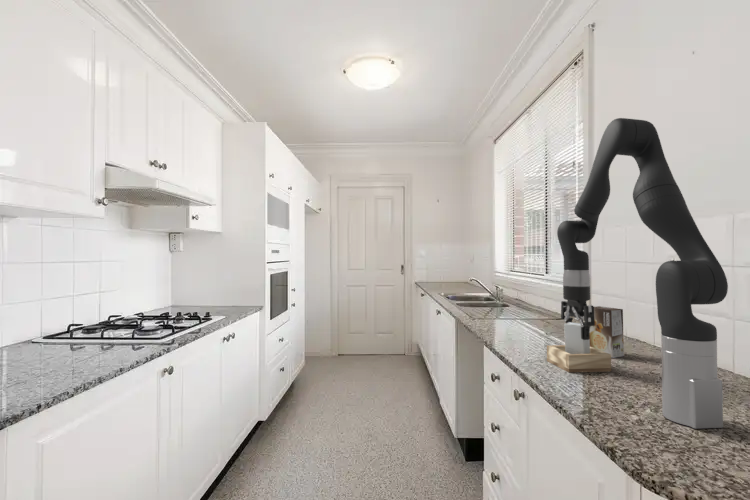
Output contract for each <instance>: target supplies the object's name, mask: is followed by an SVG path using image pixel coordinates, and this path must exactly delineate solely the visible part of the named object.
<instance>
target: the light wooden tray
mask: <svg viewBox="0 0 750 500" xmlns="http://www.w3.org/2000/svg"><path fill="white" fill-rule="evenodd" d="M546 362H548V363H550V364H552V365H554V366H556V367H558V368H559V369H561V370H563V371H565V372H567V373H594V372H595V373H598V372H604V373H605V372H612V358H611V354H609V353H606V352H603V351H601V350H598V349H595V348H593V347H590V354H570V353H567V352H565V344H562V345H559V344H555V345H553V344H552V345H551V344H550V345H546Z"/></svg>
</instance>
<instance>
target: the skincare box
mask: <svg viewBox="0 0 750 500" xmlns="http://www.w3.org/2000/svg"><path fill="white" fill-rule="evenodd" d="M563 326H564V327H563V330H564V331H563V332H564V345H565V352H567V353H570V354H590V340H583V339H581V324H580V322H574V321H573V322H569V323H566V322H564V324H563Z"/></svg>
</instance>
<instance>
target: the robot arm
mask: <svg viewBox="0 0 750 500" xmlns="http://www.w3.org/2000/svg"><path fill="white" fill-rule="evenodd" d="M654 125H655V124H653V123H652V122H650V121H648V120H644V119H635V118H626V117H625V118H624V117H619V118H615V119H613V120H612V121H610V123H608V124H607V126H606V128H605V129H604V131H603V134H602V137H601V139H600V142H599V144H598V148H597V151H596V154H595V157H594V160H593V163H592V167H591V170H590V173H589V177H588V178H587V182H586V184H585V187H584V189H583V191H582V193H581V194H580V195H579V196H580V197H579V199H578V200H577V202H576V204H575V206H574V208H573V209H574V211H573V212H574V215H576V217H577V218H579V219H581V220H564V221H562V222H560V223H559V225H558V227H557V231H556V234H557V235H556V236H557V241H558V243H559V247H560V249H561V252H562V257H563V274H562V275H563V276H562V293H563V295H562V296H563V297H562V298H563V299H564V300H562V301H561V302H560V303H561V305H560V309H561V310H560V318H561V320H563V322H564V323H569V322H573V323H574V321H575V319H576V320H577V321H578V323H580V324H581V339H583V340H589V338H590V335H589V334H590V327H591V326H594V325H595V320H594V307H595V306H594V305H587V302H588V301H590V300H591V278H590V277H591V275H590V257H589V253H588V252H586V251H584V250H580V249H578V247H577V244H587V243H588V242H591V241H592V240H593V238H594V237H595V235H596V232H597V227H598V224H599V223H598V222H599V219H600V215H601V213H602V211H603V209H604V208H605V205H606V204H607V202H608V200H609V198H610V195H611V183H610V182H611V181H610V168H611V165H612V162H613V161H614V160H615V158H616V156H629V157H632V158H633V159H634V160H635V162H636V164H637V167H638V170H639V176H638V177H637V180H636V182H635V184H634V188H633V191H632V199H633V203H634V206H635V207H636V208H635V209H636V211H637V213H638V215H639V218H640V220H641V221H642V223H643V225H645V226H646V227H647V228H648V229H649V230H651V231H652V232H653V233H654V234H655V235H656V236H658V237H659V238H660V239H661V240H663V241H664V242H665V243H667V244H668V245H669V247H671V249H672V250H674V252H675V253H676V255H677V256H678V258H679V260H668V261H665V262H663V263H662V264H660V266H659V268H658V270H657V272H656V274H655V295H656V307H657V318H658V322H659V325H660V330H661V331H660V333H661V334H660V335H661V336H660V338H661V395H662V396H661V398H662V403H661V404H662V407H661V408H662V410H661V411H662V413H661V414H662V415H663V417H664V418H665V419H668V420H669V421H672V422H674V423H677V424H680V425H684V426H687V427H691V428H693V429H717V428H718V429H719V428H724V417H723V416H724V413H723V412H724V408H723V405H724V404H723V402H724V401H723V380H722V379H721V378H718V331H717V327H716V326H715V325H714V324H712V323H710V322H706V321H704V320H701V319H699V318H698V317H697V316H695V315H694V313H693V310H692V309H693V308H692V305H715V304H716V305H717V304H719V303H721V302H723V301H724V299H725V298H726V296H727V295H728V289H729V285H728V284H729V283H728V278H727V276H726V273H725V271H724V269H723V267H722V265H721V263H720V261H719V260H718V259H717V257H716V256H715V254H714V252H713V251H712V249H711V248H710V246H709V245H708V243H707V242H706V240H705V238H704V237H703V235H702V233H701V231H700V230H699V227H698V225H697V224H696V222H695V220H694V217H693V216H692V214H691V212H690V210H689V208H688V205H687V202H686V200H685V198H684V196H683V193H682V190H681V189H680V187H679V186H678V184H677V182H676V180H675V178H674V176H673V174H672V171H671V168H670V166H669V164H668V162H667V159H666V155H665V153H664V150H663V147H662V143H661V140H660V136H659V134H658V131H657V129H656V126H654ZM590 318H591V322H590V321H589V319H590Z"/></svg>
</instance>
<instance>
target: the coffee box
mask: <svg viewBox="0 0 750 500" xmlns="http://www.w3.org/2000/svg"><path fill="white" fill-rule="evenodd" d="M594 320H595V325H594V326H591V327H590V334H589V335H590V338H589V340H590V347H593V348H595V349H598V350H601V351H603V352H606V353H609V354H611V359H613V358H614V359H615V358H621V357H624V356H625V352H624V351H625V350H624V349H625V347H624V342H625V341H624V309H623V308H614V307H608V306H607V307H606V306H600V305H599V306H594ZM589 321H590V322H591V318H590V319H589Z"/></svg>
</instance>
